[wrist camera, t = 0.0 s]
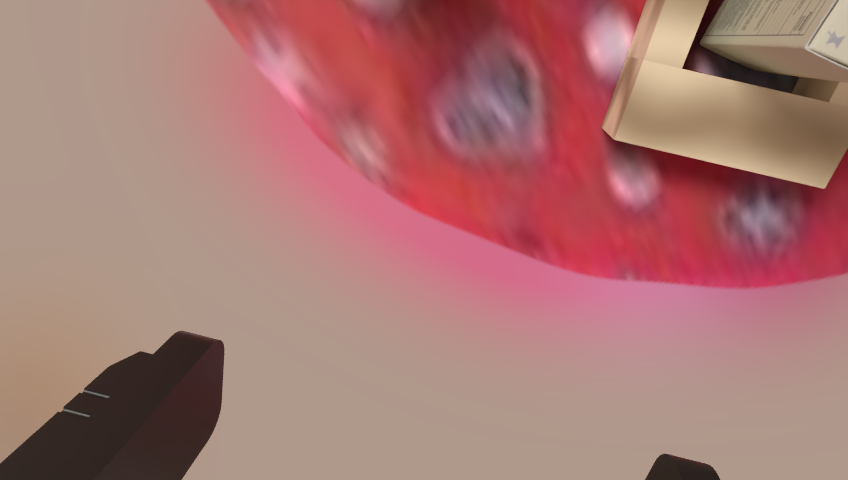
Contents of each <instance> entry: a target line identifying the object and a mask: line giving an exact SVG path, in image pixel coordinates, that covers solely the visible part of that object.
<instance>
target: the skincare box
mask: <svg viewBox="0 0 848 480" xmlns="http://www.w3.org/2000/svg"><path fill="white" fill-rule="evenodd" d="M699 44H700V45H701V46H703V47H705V48H707V49H709V50H711V51H713V52H715V53H717V54H719V55H721V56H723V57H725V58H727V59H729V60H731V61H734V62H736V63H738V64H740V65H743V66H745V67H748V68H750V69H752V70H755V71H761V72H769V73H776V74H784V75H791V76H798V77H806V78H814V79H823V80H830V81H839V82H847V83H848V0H724V1H723V3H722V5H721V6H720V8H719V10H718V11H717V13H716V15H715V16H714V18H713V20H712V21H711V23H710V25H709V26H708V28H707V30H706V32H705V33H704V35H703V37H702V39H701V41H700V43H699Z"/></svg>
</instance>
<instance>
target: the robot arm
mask: <svg viewBox="0 0 848 480" xmlns="http://www.w3.org/2000/svg"><path fill="white" fill-rule="evenodd" d="M223 366H224V344H223V342H222V341H221V340H217V339H213V338H209V337H205V336H201V335H197V334H193V333H189V332H185V331H178V332H176V333H175V334H174V335H172V336H171V337H170V338H169V339H168V340H167V341H166V342H165V343H164V344H163V345H162V346H161V347H160V348H159V349H158V350H157V351H156V352H155V353H154V354H149V353H145V352H138V353H136V354H134V355H132V356H130V357H128V358H126V359H123V360H121V361H119V362H117V363H115V364H113V365H111V366H109V367H108V368H107V369H106V370H104V371H103V372H102V373H101V374H100V375H99V376H98V377H97V378H96V379H94V380H93V381H92V382H91V383H90V384H89V385H88V386H87V387H85V388H84V392H83V393H79V394H78V395H76V396H75V397H74V398H73V399H72V400H71V401H70V402H69V403H68V404H66V405H65V406H64V408H63V411H62V412H57V413H56V414H55V415H54V416H53V417H52V418H51V419H50V420H49V421H47V422H46V423H45V424H44V425H43V426H42V427H41V428H40V429H39V430H38V431H36V432H35V433H34V434H33V435H32V436H31V437H29V438H28V439H27V440H26V441H25V442H24V443H23V444H22V445H21V446H19V447H18V448H17V449H16V450H15V451H14V452H13V453H12V454H10V455H9V456H8V457H7V458H6V459H5V460H4V461H3V462H2V463H0V480H182V478H183V477H184V475H185V474H186V472H187V471H188V469H189V468H190V466H191V465H192V463H193V462H194V460H195V459H196V458H197V456H198V455H199V453H200V452H201V450H202V449H203V447H204V446H205V444H206V443H207V441H208V440H209V438H210V436H211V435H212V433H213V431H214V428H215V426H216V423H217V421H218V418H219V414H220V410H221V403H222V383H223ZM645 480H720V478H719V476H718V475H717V473H716V471H715V470H714V469H713V467H711V466H710V465H708V464H705V463H701V462H697V461H693V460H689V459H684V458H681V457H676V456H673V455H669V454H662V455H660V456H659V457H658V458H657V460H656V461H655V463H654V465H653V466H652V468H651V470H650V472H649V474H648V476H647V477H646V479H645Z"/></svg>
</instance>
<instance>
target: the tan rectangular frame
mask: <svg viewBox="0 0 848 480" xmlns="http://www.w3.org/2000/svg"><path fill="white" fill-rule="evenodd" d="M708 2H709V0H646V3H645V5H644V8H643V11H642V14H641V17H640V20H639V23H638V25H637V28H636V31H635V34H634V37H633V40H632V42H631V45H630V48H629V51H628V54H627V57H626V59H625V62H624V65H623V68H622V71H621V74H620V76H619V79H618V82H617V85H616V88H615V91H614V93H613V96H612V99H611V102H610V105H609V108H608V111H607V113H606V116H605V119H604V122H603V125H602V129H603V130H604V131H605V132H607V133H608V134H609V135H610V136H611V137H612V138H613V139H614V140H617V141H621V142H626V143H630V144H634V145H638V146H643V147H647V148H651V149H656V150H660V151H664V152H668V153H673V154H677V155H681V156H685V157H690V158H694V159H698V160H703V161H707V162H711V163H715V164H720V165H724V166H728V167H732V168H737V169H741V170H745V171H750V172H754V173H758V174H762V175H767V176H771V177H775V178H779V179H784V180H788V181H792V182H797V183H801V184H805V185H809V186H814V187H818V188H822V189H825V187H826V186H827V184H828V182H829V180H830V178H831V177H832V175H833V173H834V171H835V170H836V168H837V166H838V164H839V162H840V161H841V159H842V157H843V155H844V154H845V152H846V150H847V148H848V83H847V82H839V81H830V80H823V79H814V78H806V77H799V79H798V81H797V83H796V85H795V87H794V89H793V91H792V93H787V92H782V91H778V90H774V89H769V88H765V87H761V86H756V85H752V84H747V83H743V82H739V81H734V80H730V79H726V78H721V77H717V76H712V75H708V74H704V73H699V72H695V71H691V70H686V69H682V67H683V65H684V62H685V60H686V57H687V55H688V52H689V50H690V47H691V45H692V42H693V40H694V37H695V35H696V32H697V30H698V27H699V25H700V22H701V20H702V17H703V15H704V12H705V10H706V7H707V5H708Z"/></svg>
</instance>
